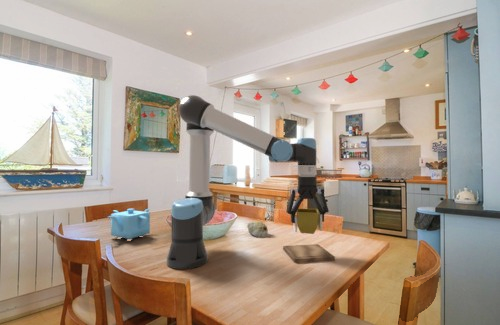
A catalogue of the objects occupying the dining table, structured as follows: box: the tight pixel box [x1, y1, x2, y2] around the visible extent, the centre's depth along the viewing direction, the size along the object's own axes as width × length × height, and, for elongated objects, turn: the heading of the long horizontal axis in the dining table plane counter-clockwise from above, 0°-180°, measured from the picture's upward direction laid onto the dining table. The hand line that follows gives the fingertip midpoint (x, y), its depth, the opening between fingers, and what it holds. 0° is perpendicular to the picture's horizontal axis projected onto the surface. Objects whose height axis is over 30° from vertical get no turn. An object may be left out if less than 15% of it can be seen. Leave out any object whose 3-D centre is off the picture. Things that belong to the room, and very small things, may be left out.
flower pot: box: [296, 207, 320, 235], centre depth 109 cm, size 9×9×9 cm
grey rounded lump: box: [247, 220, 269, 239], centre depth 139 cm, size 10×10×10 cm
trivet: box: [282, 243, 336, 264], centre depth 109 cm, size 16×16×2 cm
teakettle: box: [107, 208, 151, 239], centre depth 135 cm, size 19×19×15 cm
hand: (307, 230), depth 109 cm, fingers closed on flower pot, 10 cm apart
